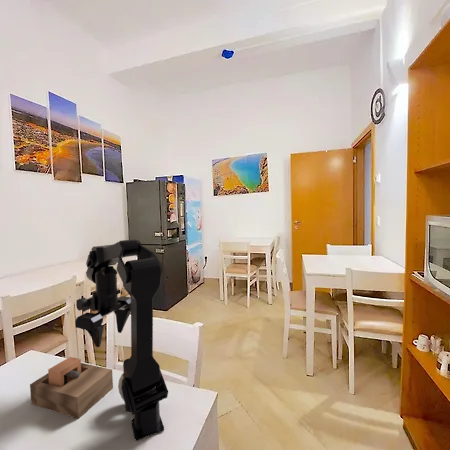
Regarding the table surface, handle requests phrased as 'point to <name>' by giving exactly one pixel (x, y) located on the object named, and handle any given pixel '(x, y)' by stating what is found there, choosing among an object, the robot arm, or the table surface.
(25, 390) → the table surface
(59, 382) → the staple
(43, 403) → the wooden divided tray
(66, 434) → the table surface
